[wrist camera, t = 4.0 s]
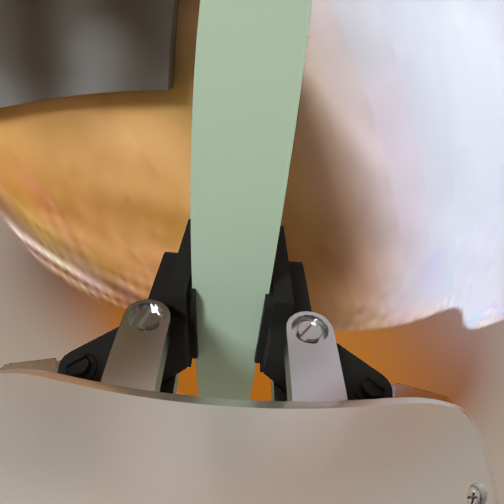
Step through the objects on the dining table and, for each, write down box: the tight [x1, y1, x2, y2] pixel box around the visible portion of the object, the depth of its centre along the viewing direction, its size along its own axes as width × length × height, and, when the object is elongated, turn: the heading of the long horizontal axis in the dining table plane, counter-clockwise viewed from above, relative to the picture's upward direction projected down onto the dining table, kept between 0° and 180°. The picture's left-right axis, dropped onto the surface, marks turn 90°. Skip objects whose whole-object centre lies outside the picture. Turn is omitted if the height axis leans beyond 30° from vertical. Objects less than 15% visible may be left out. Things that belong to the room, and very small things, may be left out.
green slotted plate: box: [191, 0, 312, 400], centre depth 14 cm, size 18×2×12 cm, turn 174°
